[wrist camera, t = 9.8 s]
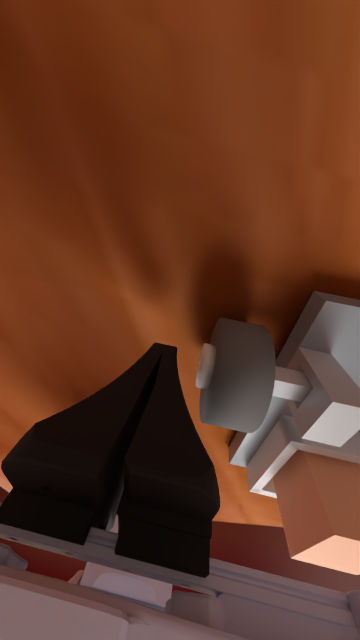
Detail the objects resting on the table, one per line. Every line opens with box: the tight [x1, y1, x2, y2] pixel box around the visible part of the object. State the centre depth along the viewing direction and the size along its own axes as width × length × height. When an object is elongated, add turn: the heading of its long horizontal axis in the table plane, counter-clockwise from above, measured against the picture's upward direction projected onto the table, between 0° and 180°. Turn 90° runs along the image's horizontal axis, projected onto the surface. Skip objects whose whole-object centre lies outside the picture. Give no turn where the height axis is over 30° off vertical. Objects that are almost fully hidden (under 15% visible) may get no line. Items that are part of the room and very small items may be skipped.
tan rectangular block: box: [272, 449, 360, 575], centre depth 15 cm, size 6×4×6 cm
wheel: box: [196, 317, 313, 433], centre depth 11 cm, size 6×6×6 cm
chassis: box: [228, 291, 360, 498], centre depth 14 cm, size 18×11×6 cm, turn 171°
